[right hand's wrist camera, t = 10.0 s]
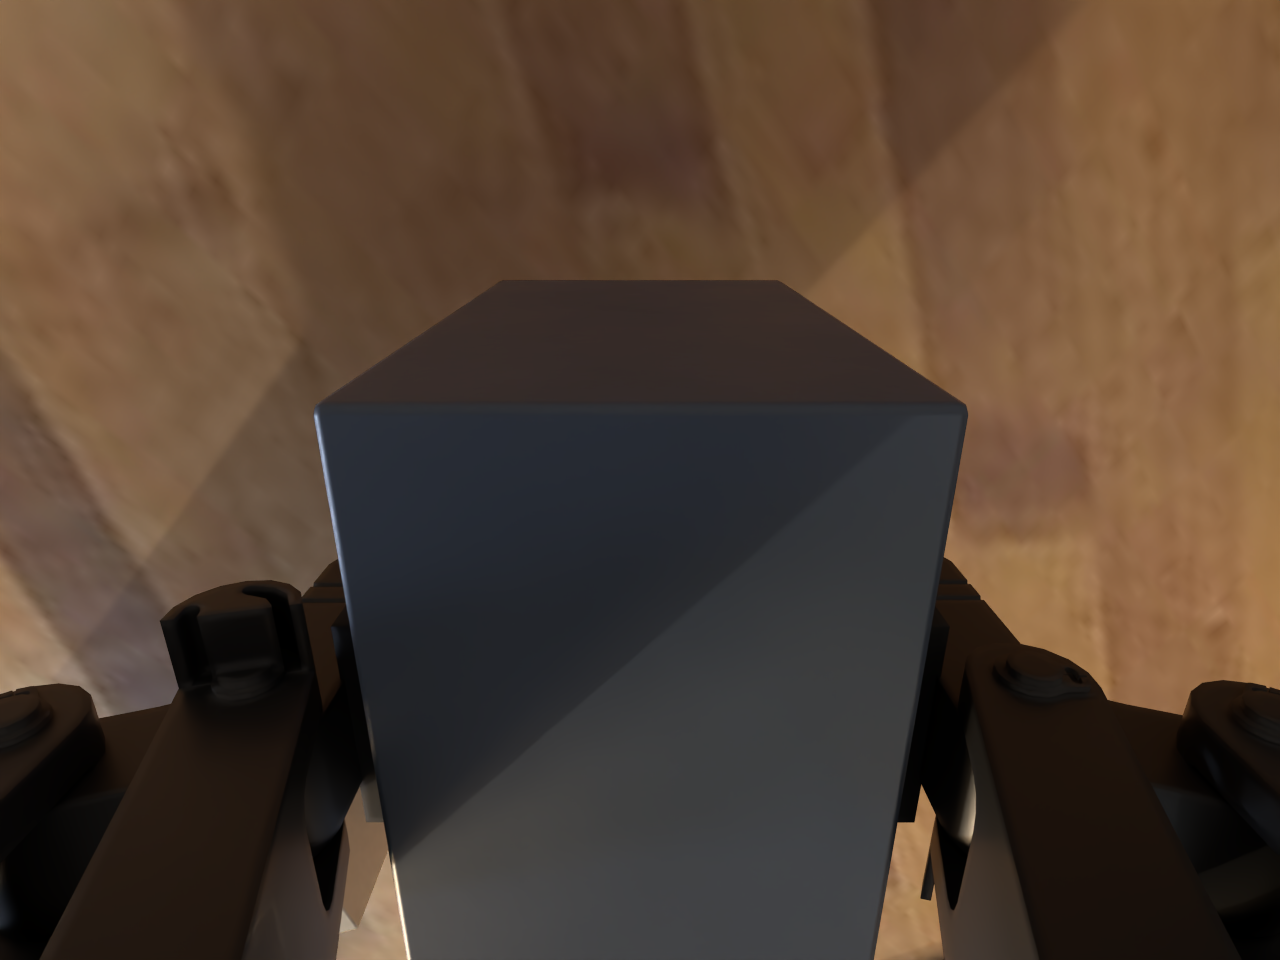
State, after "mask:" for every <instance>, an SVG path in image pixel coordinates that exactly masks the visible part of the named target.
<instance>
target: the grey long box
mask: <svg viewBox="0 0 1280 960" xmlns="http://www.w3.org/2000/svg"><path fill="white" fill-rule="evenodd" d="M967 419H968V411H967V407H966V404H964V403H963V402H961V401H959V400H958V399H956V398H955V397H953V396H952V395H950V394H949V393H947V392H946V391H944V390H943V389H941V388H940V387H938V386H937V385H935V384H934V383H932V382H931V381H929V380H928V379H926V378H925V377H923V376H922V375H920V374H919V373H917V372H916V371H914V370H913V369H911V368H910V367H908V366H907V365H905V364H904V363H902V362H901V361H899V360H898V359H896V358H895V357H893V356H892V355H890V354H889V353H887V352H886V351H884V350H883V349H881V348H880V347H878V346H877V345H875V344H874V343H872V342H871V341H869V340H868V339H866V338H865V337H863V336H862V335H860V334H859V333H857V332H856V331H854V330H853V329H851V328H850V327H848V326H847V325H845V324H844V323H842V322H841V321H839V320H838V319H836V318H835V317H833V316H832V315H830V314H829V313H827V312H826V311H824V310H823V309H821V308H820V307H818V306H817V305H815V304H814V303H812V302H810V301H809V300H807V299H806V298H804V297H803V296H801V295H800V294H798V293H797V292H795V291H794V290H792V289H791V288H789V287H788V286H786V285H785V284H783V283H782V282H780V281H778V280H503V281H500V282H499V283H497V284H496V285H494V286H493V287H491V288H490V289H488V290H487V291H485V292H484V293H482V294H481V295H479V296H478V297H476V298H475V299H473V300H472V301H470V302H469V303H467V304H466V305H464V306H463V307H461V308H460V309H458V310H457V311H455V312H454V313H452V314H451V315H449V316H448V317H446V318H445V319H443V320H442V321H440V322H439V323H437V324H436V325H434V326H433V327H431V328H430V329H428V330H427V331H425V332H424V333H422V334H421V335H419V336H418V337H416V338H415V339H413V340H412V341H410V342H409V343H407V344H406V345H404V346H403V347H401V348H400V349H398V350H397V351H395V352H394V353H392V354H391V355H389V356H388V357H386V358H385V359H383V360H382V361H380V362H379V363H377V364H376V365H374V366H373V367H371V368H370V369H368V370H367V371H365V372H364V373H362V374H361V375H359V376H358V377H356V378H355V379H353V380H352V381H350V382H349V383H347V384H346V385H344V386H343V387H341V388H340V389H338V390H337V391H335V392H334V393H332V394H331V395H329V396H328V397H326V398H325V399H323V400H322V401H320V402H319V403H317V404H316V406H315V410H314V421H315V426H316V432H317V438H318V444H319V450H320V455H321V461H322V467H323V473H324V479H325V485H326V490H327V496H328V502H329V508H330V514H331V519H332V525H333V531H334V537H335V543H336V548H337V554H338V560H339V566H340V572H341V577H342V583H343V589H344V595H345V601H346V607H347V612H348V618H349V624H350V630H351V636H352V641H353V647H354V653H355V659H356V665H357V670H358V676H359V682H360V688H361V694H362V699H363V705H364V711H365V717H366V723H367V729H368V734H369V740H370V746H371V752H372V758H373V763H374V769H375V775H376V781H377V787H378V792H379V798H380V804H381V810H382V816H383V821H384V827H385V833H386V839H387V845H388V851H389V856H390V862H391V868H392V874H393V880H394V885H395V891H396V897H397V903H398V909H399V914H400V920H401V926H402V932H403V938H404V944H405V949H406V955H407V960H874V954H875V949H876V943H877V937H878V931H879V926H880V920H881V914H882V908H883V903H884V897H885V891H886V885H887V880H888V874H889V868H890V862H891V857H892V851H893V845H894V839H895V833H896V828H897V822H898V816H899V810H900V805H901V799H902V793H903V787H904V782H905V776H906V770H907V764H908V759H909V753H910V747H911V741H912V736H913V730H914V724H915V718H916V713H917V707H918V701H919V695H920V689H921V684H922V678H923V672H924V666H925V661H926V655H927V649H928V643H929V638H930V632H931V626H932V620H933V615H934V609H935V603H936V597H937V592H938V586H939V580H940V574H941V568H942V563H943V557H944V551H945V545H946V540H947V534H948V528H949V522H950V517H951V511H952V505H953V499H954V494H955V488H956V482H957V476H958V471H959V465H960V459H961V453H962V447H963V442H964V436H965V430H966V424H967Z"/></svg>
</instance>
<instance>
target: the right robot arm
mask: <svg viewBox="0 0 1280 960" xmlns="http://www.w3.org/2000/svg"><path fill="white" fill-rule="evenodd" d="M160 623H161V626H162V630H163V634H164V637H165V641H166V644H167V648H168V651H169V655H170V659H171V662H172V666H173V669H174V673H175V676H176V680H177V683H178V687H179V690H178V692H177V694H176V696H175V698H174V699H173V701H172V703H171V704H168V705H164V706H160V707H156V708H151V709H145V710H140V711H135V712H130V713H125V714H120V715H115V716H110V717H104V718H98V715H97V712H96V709H95V706H94V703H93V700H92V697H91V695H90V694H89V693H88V692H86V691H85V690H84V689H82V688H81V687H80V686H74V685H66V684H50V685H42V686H30V687H25V688H20V689H16V691H14V692H13V691H9V692H6V693H3V694H0V960H336V955H337V948H338V940H339V932H340V924H341V917H342V909H343V901H344V894H345V886H346V878H347V870H348V863H349V855H350V846H349V839H348V832H347V827H346V822H345V817H346V815H347V812H348V810H349V808H350V806H351V804H352V802H353V800H354V798H355V795H356V793H357V791H358V789H359V787H360V791H361V796H362V802H363V807H364V813H365V819H366V822H384V821H383V816H382V810H381V804H380V798H379V792H378V787H377V781H376V775H375V769H374V763H373V758H372V752H371V746H370V740H369V734H368V729H367V723H366V717H365V711H364V705H363V699H362V694H361V688H360V682H359V676H358V670H357V665H356V659H355V653H354V647H353V641H352V636H351V630H350V624H349V618H348V612H347V607H346V601H345V595H344V589H343V583H342V577H341V572H340V566H339V560H338V559H337V560H336V561H334V562H332V563H331V564H329V565H328V566H327V568H326V569H325V570H324V571H323V572H322V574H321V575H320V576H319V577H318V578H317V580H316V581H315V582H314V586H313V587H310V588H309V589H308V590H307V592H306V593H305V594H304V595H303V596H302V597H301V592H300V591H298V590H297V589H296V588H294V587H293V586H292V585H290V584H287V583H282V582H277V581H272V580H265V581H245V582H239V583H234V584H229V585H224V586H220V587H217V588H214V589H211V590H208V591H206V592H203V593H200V594H197V595H195V596H193V597H191V598H189V599H187V600H186V601H184V602H182V603H180V604H179V605H177V606H175V607H173V608H172V609H171V610H170V611H169V612H168V613H167V614H166V615H165V616H164V617H163V618H162V619H161V620H160ZM921 784H922V786H923V788H924V790H925V793H926V795H927V797H928V799H929V801H930V803H931V805H932V807H933V809H934V812H935V814H936V817H935V822H934V827H933V832H932V838H931V843H930V848H929V853H928V858H927V863H926V868H925V873H924V879H923V884H922V891H921V899H925V900H930V901H931V897H932V892H933V887H934V884H935V892H936V899H937V907H938V915H939V923H940V930H941V938H942V946H943V953H944V960H1280V690H1278V689H1274V688H1271V687H1270V688H1266V686H1264V685H1259V684H1254V683H1243V682H1235V681H1226V680H1221V681H1213V682H1205V683H1202V684H1200V685H1199V686H1198V687H1196V688H1195V689H1194V690H1192V691H1191V693H1190V696H1189V699H1188V702H1187V705H1186V708H1185V711H1184V714H1183V715H1178V714H1173V713H1168V712H1163V711H1157V710H1152V709H1147V708H1142V707H1137V706H1132V705H1127V704H1122V703H1118V702H1114V701H1110V700H1107V698H1106V696H1105V694H1104V692H1103V690H1102V688H1101V687H1100V686H1099V685H1098V683H1097V682H1096V681H1095V680H1094V679H1093V677H1092V676H1091V675H1090V674H1089V673H1088V672H1087V671H1085V670H1084V669H1082V668H1081V667H1079V666H1078V665H1076V664H1075V663H1073V662H1072V661H1070V660H1069V659H1066V658H1064V657H1062V656H1059V655H1057V654H1054V653H1052V652H1050V651H1047V650H1045V649H1041V648H1036V647H1032V646H1028V645H1023V644H1020V643H1019V641H1018V640H1017V639H1016V638H1015V637H1014V635H1013V634H1012V633H1011V632H1010V631H1009V629H1008V628H1007V627H1006V626H1005V625H1004V623H1003V622H1002V621H1001V620H1000V619H999V618H998V616H997V615H996V614H995V613H994V612H993V610H992V609H991V608H990V607H989V606H988V604H987V603H986V602H985V601H984V600H981V599H980V595H979V594H978V593H977V591H976V590H975V589H974V588H973V587H972V585H971V584H967V579H966V578H965V577H964V576H963V575H962V574H961V572H960V571H959V570H958V569H957V568H956V566H955V565H954V564H953V563H952V562H951V561H949V560H948V559H946V558H944V557H943V563H942V568H941V574H940V580H939V586H938V592H937V597H936V603H935V609H934V615H933V620H932V626H931V632H930V638H929V643H928V649H927V655H926V661H925V666H924V672H923V678H922V684H921V689H920V695H919V701H918V707H917V713H916V718H915V724H914V730H913V736H912V741H911V747H910V753H909V759H908V764H907V770H906V776H905V782H904V787H903V793H902V799H901V805H900V810H899V816H898V822H914V821H915V816H916V810H917V805H918V799H919V794H920V788H921Z"/></svg>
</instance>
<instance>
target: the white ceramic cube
mask: <svg viewBox="0 0 1280 960" xmlns="http://www.w3.org/2000/svg"><path fill="white" fill-rule="evenodd" d="M345 822H346V827H347V832H348V839H349V846H350V855H349V863H348V870H347V878H346V886H345V894H344V901H343V909H342V917H341V924H340V932H339V933H343V932H347V931H351V930H354V929H357V928H358V927H359V924H360V921H361V919H362V916H363V914H364V911H365V908H366V906H367V903H368V901H369V898H370V895H371V893H372V890H373V888H374V885H375V883H376V880H377V877H378V875H379V872H380V870H381V867H382V864H383V862H384V859H385V857H386V854H387V851H388V845H387V839H386V833H385V827H384V822H366V819H365V813H364V807H363V802H362V796H361V791H360V787H359V789H358V791H357V793H356V795H355V798H354V800H353V802H352V804H351V806H350V808H349V810H348V812H347V815H346V817H345Z"/></svg>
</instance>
